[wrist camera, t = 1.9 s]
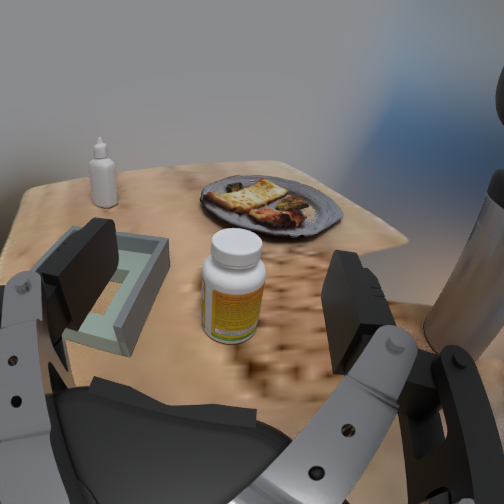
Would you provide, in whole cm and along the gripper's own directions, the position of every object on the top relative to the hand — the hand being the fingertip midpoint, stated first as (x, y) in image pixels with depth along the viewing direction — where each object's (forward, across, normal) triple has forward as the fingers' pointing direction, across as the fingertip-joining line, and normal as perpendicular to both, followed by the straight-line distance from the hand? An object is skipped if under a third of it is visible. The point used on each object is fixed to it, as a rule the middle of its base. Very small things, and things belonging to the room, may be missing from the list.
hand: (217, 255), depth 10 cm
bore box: (+12, +15, +16) cm, 25 cm away
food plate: (+40, -4, +16) cm, 43 cm away
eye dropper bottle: (+34, +25, +16) cm, 45 cm away
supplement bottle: (+12, 0, +16) cm, 20 cm away
